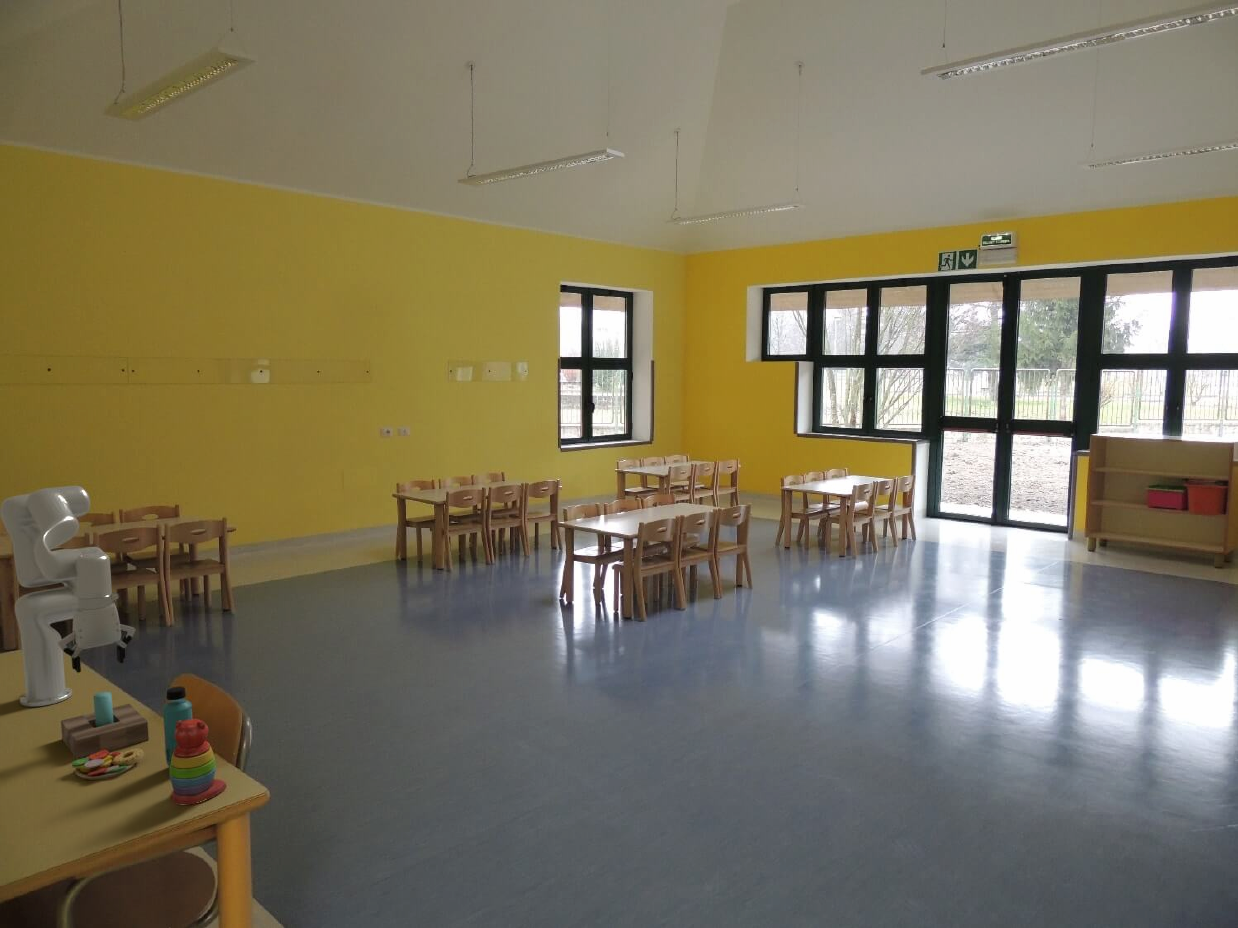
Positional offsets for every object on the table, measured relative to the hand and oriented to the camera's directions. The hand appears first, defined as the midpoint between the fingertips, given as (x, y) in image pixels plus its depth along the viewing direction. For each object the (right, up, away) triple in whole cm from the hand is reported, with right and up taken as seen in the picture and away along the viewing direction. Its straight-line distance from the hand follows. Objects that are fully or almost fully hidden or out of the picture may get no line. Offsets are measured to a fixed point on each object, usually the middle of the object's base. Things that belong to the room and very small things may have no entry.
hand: (99, 666), depth 223 cm
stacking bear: (+37, -23, -26) cm, 51 cm away
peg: (0, -19, +2) cm, 20 cm away
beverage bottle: (+28, -22, -13) cm, 37 cm away
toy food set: (+10, -22, -13) cm, 28 cm away
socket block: (0, -19, +2) cm, 20 cm away
